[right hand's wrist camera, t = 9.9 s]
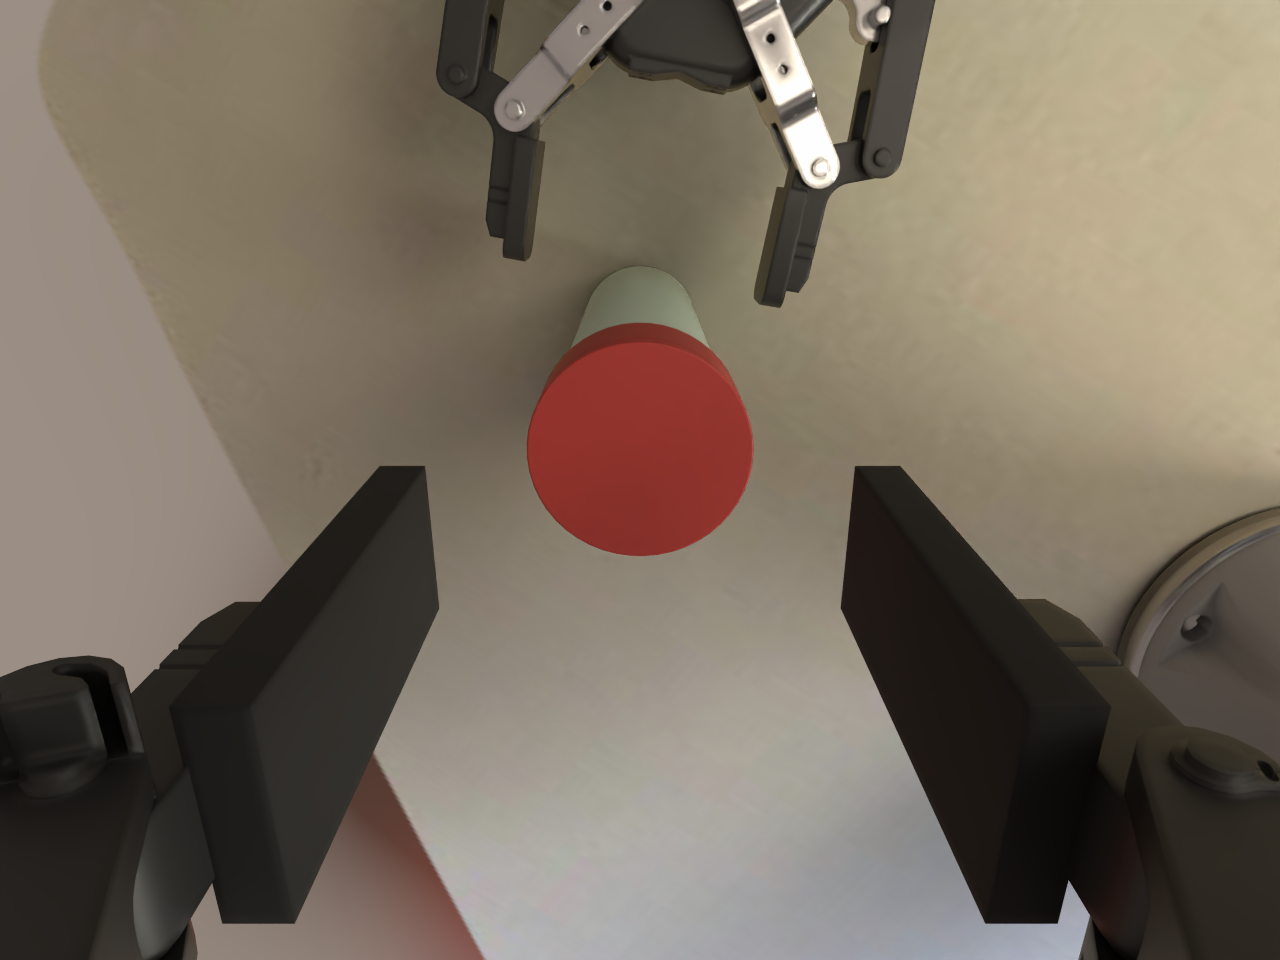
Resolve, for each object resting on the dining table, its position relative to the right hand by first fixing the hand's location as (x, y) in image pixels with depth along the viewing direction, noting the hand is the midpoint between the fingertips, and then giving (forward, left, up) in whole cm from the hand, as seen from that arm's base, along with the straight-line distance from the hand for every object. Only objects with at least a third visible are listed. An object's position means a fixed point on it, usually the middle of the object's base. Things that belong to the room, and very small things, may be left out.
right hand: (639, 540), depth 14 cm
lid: (0, 0, -5) cm, 5 cm away
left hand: (-1, -2, -15) cm, 15 cm away
